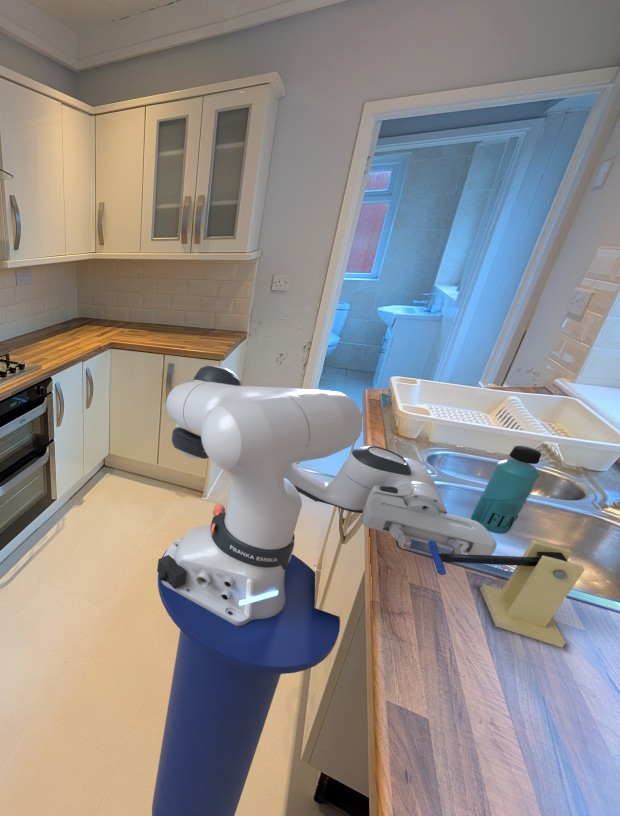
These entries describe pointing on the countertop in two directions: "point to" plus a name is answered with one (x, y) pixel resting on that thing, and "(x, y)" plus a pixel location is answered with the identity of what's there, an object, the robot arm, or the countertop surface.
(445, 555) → the lever
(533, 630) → the switch bracket
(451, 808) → the countertop surface
